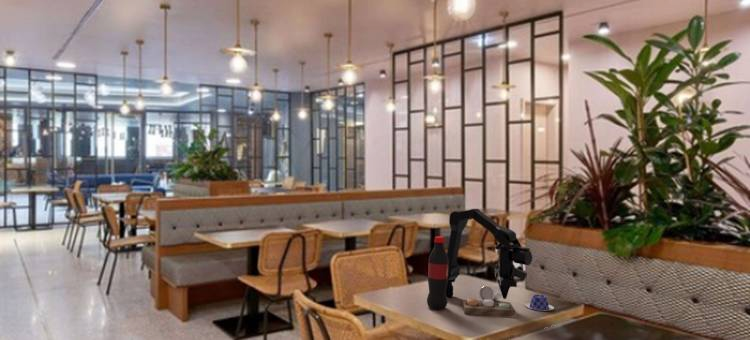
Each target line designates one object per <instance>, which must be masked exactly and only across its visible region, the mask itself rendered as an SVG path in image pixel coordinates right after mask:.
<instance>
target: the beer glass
mask: <svg viewBox="0 0 750 340" xmlns="http://www.w3.org/2000/svg"><path fill="white" fill-rule="evenodd" d="M478 297H479V298H480V300H481V301H483V300H485V299H488V300H493V301H498V300H500V299H501V298H502V297H503V296H502V293H501V291H500V288H499V286H497V285H494V286H493V285H488V284H487V285H484V286H482V287H481V288H480V289H479V291H478Z"/></svg>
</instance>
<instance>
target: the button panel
mask: <svg viewBox="0 0 750 340" xmlns="http://www.w3.org/2000/svg"><path fill="white" fill-rule="evenodd" d="M461 301H462V303H461V305H462V309H463V313H464V315H476V314H479V316H481V315H482V316H493V315H496V316H498V317H510V316H513V317H512V318H514V317H515V316H516V310H515V309H514V306H513V305H512V303H511V302H509V301H508V302H507V301H496V300H494V305H493V307H486V306H483V300H478V306H468V305H467V299H462V300H461ZM499 303H506V304H509V305H510V306H509V308H503V307H498V306H499ZM480 314H481V315H480Z"/></svg>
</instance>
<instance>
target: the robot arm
mask: <svg viewBox="0 0 750 340" xmlns="http://www.w3.org/2000/svg"><path fill="white" fill-rule="evenodd" d="M448 219H449V221H448V223H449V227H450V235H449V239H448V245H447V251H446V254H447V257H448V260H449V263H448V283H447V288H446V296H447V299H448V298H449V299H452V298H453V296H454V285H453V283H455V282H456V280H457V278H459V277H458V276H460V270H461V266H460V265H459V264H458V255H459V250H460V245H461V240H462V234H463V231H464V230H465V228H466V226H467V225H468V221H469V220H474V221H475V222H476V223H478V224H479V225H480V226H482V227H483V228H484V229H485V230H487V231H488V232H490V233H491V234H492V236H493V237H494V239H495V240H496V241H497V243H498V244H497V245H496V246H494V250H499V251H498V253H499V254H498V263H497V265H498V269H496V270H495V271H494V277H495V278H498V279H496V281H497V284H498V287H499V288H500V291H501V293H502V296H501V297H502V299H503V300H506V299H507V297H508V294H509V290H510V288H511V287H512V288H517V286H518V282H517V280H516V279H515V277H516V278H518V279H520V280H522V281H525V280H526V278H527V277H528V272H527V271H525V270H524V268H523V267H522V266H520V265H524V266H530V265H531V264H532V262H533V255H532V254H533V253H532V251H531V249H530V247H522V244H521V242H520V240H519V239H518V238H517V234H516V232H515V231H514V230H512V229H510V228H507V227H504V226H503V225H500V224H499V223H497V222H496V221H495V220H493V219H492V218H491V217H489V216H488V215H486V214H485V213H484V212H482V211H481V210H480V209H479V208H470V209H467V210H454V211H452V212H451V213H449V218H448ZM514 264H519V265H518V266H516V265H514ZM515 266H516V267H515Z"/></svg>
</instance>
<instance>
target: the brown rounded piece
mask: <svg viewBox="0 0 750 340" xmlns="http://www.w3.org/2000/svg"><path fill="white" fill-rule="evenodd" d="M466 300H467V305H468V306H478V301H479V300H478V299H476V298H466Z"/></svg>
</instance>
